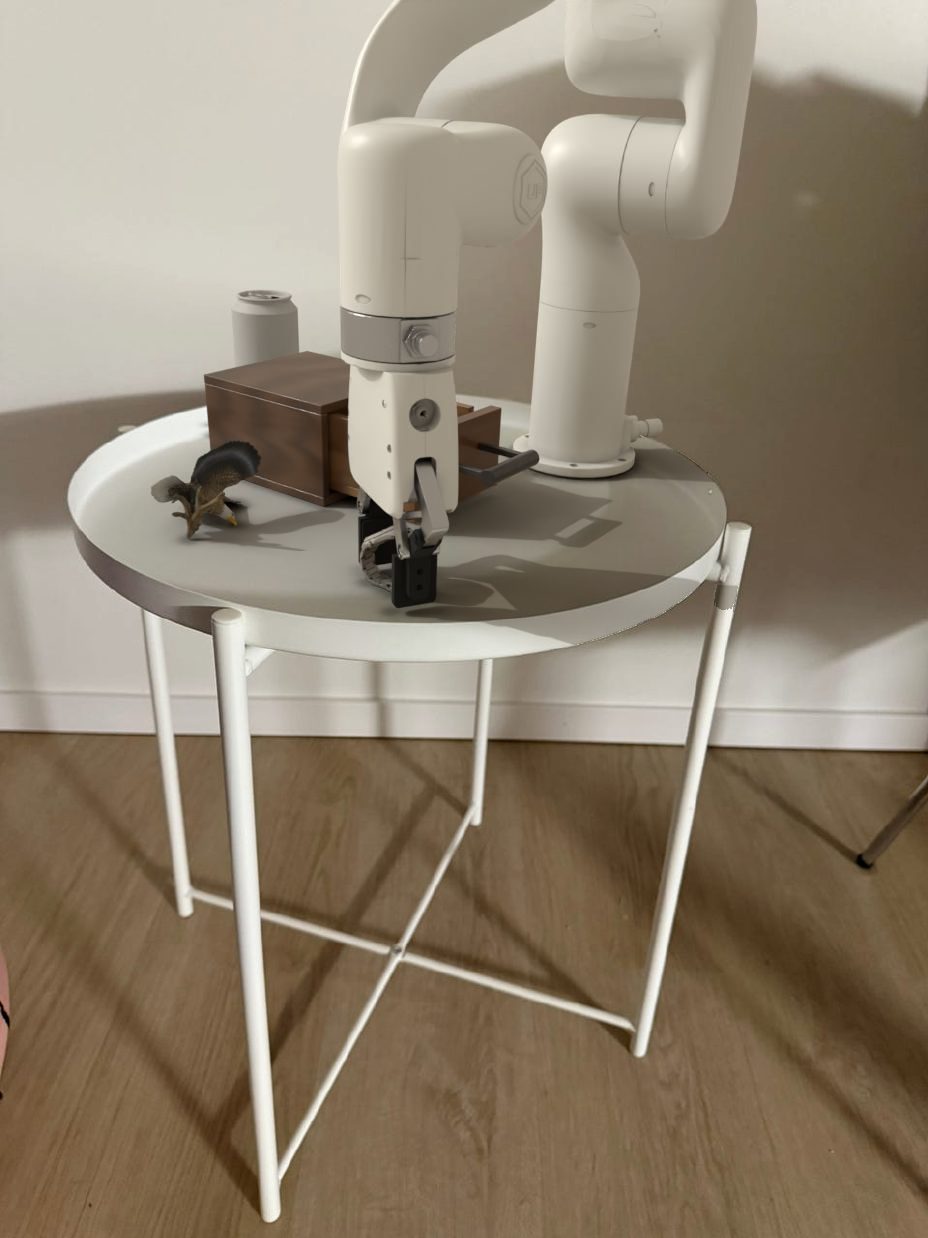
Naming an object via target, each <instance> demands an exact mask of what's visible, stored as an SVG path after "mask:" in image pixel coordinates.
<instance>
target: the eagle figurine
mask: <svg viewBox="0 0 928 1238" xmlns="http://www.w3.org/2000/svg"><path fill="white" fill-rule="evenodd" d="M260 460H261V456H260V455H258V450H257V449H255V448H254V446H253V445H250V443H249V442H244V441H239V440H238V441H235V440H234V441H229V442H225V443H224V444H222V445H221V446H218V447H217V448H215V449H213V450H210V449H209V451H208V452H206V453H204V454H202V455H200V456H199V457H198V458H197V459H196V461H195V465H194V468H193V471H192V474H191V476H190V481H189V482H185V481H183V480H181V479H180V478H179V477H177V476H176V475H171V474H170V475H169V476H166V477H163V478H161V479H159V480H158V481H156V482H154V483H153V484H152V485H151V486H150V494H151V496H152V497H153V498H154V500H155V501H156V502H158V503H161V504H162V503H163V504H164V503H169V502H171V504H174V503H176V502H177V501H179V502H180V503H181V504H182V506H183V509H184V512H180V511H173V512H172V513H171V516H172V517H173V518H181V519H184V520H186V527H187V529H186V538H187V540H191V538H192V537H193V536H194V535H195V533H196V532H197V531H198V530H200V527H201V526H202V521H203V518H204V516H205V514H210V515H213V516H218V517H220V518H222V519H223V520H226V521H228V522H230V523H231V524H233V525H234V526H235V527H236V526H237V525H238V523H237V520H236V518H235V517H236V515H235V513H234V511H232V509H230V507H229V506H227V505H226V503H235V504H242V501H240V500H235V499H231V498H228V497H227V496H226V492H225V489H227V488H230V487H234V486H235V485H238V484H239V483H240V482H242V481H246V480H245V479H248V478H250V477H252V476H254V475H255V474H256V473H257V472H258V469H257V468H258V467H259V466H260Z"/></svg>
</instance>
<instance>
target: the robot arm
mask: <svg viewBox="0 0 928 1238" xmlns="http://www.w3.org/2000/svg"><path fill="white" fill-rule="evenodd" d="M555 1H556V0H392V2H391V3H390V4H389V6H388V7H387V8H386V9H385V11H384V12H383V14H382V15H381V16H380V18H379V19H378V20H377V22H376V24H375V25H374V27H373V28H372V29H371V31H370V33H369V35H368V36H367V38H366V40H365V42H364V44H363V46H362V48H361V49H360V52H359V55H358V57H357V60H356V63H355V66H354V70H353V73H352V77H351V81H350V86H349V92H348V96H347V100H346V105H345V111H344V115H343V120H342V123H341V129H340V130H341V131H340V136H339V141H338V149H337V159H336V162H337V163H336V179H337V180H336V181H337V195H338V203H337V205H338V253H339V254H338V255H339V256H338V260H339V261H338V262H339V304H340V307H339V316H340V317H339V318H340V321H339V322H340V323H339V324H340V359H342V360H343V361H345V362H346V363H348V364H350V380H349V403H348V451H349V464H350V470H351V473H352V476H353V478H354V479H355V481H356V483H357V485H358V486H359V493H358V498H357V500H356V509H357V513H358V514H359V516H357V536H358V537H357V538H358V540H357V542H358V545H357V546H358V548H357V549H358V550H357V551H358V553H357V554H358V557H357V558H358V563H359V564H360V554H361V551H362V544H363V543H364V540H365V538H366V537H368V536H370V535H372V534H374V533H377V532H379V531H381V530H383V529H385V528H387V527H390V526H392V525H394V531H395V538H396V539H390V540H388V541H386V542H384V543H382V544H379V546H378V548H377V549H376V551H375V552H374V553H375V564H376V566H377V567H378V566H383V565H389V564H391V578H392V592H391V604H392V605H393V606H394V607H395V608H396V609H403V608H408V607H414V606H421V605H426V604H432V603H434V602H435V601H436V599H437V585H438V584H437V583H438V581H437V580H438V555H440V554H441V544H442V542H443V539H444V536H445V535H446V534H447V532H449V529H450V521H449V517H448V514H447V513H453V512H454V511H455V510H456V509H457V507H458V504H459V503H458V420H457V404H456V402H457V395H456V394H457V393H456V385H455V379H454V371H453V368H452V367H451V366H452V365H454V364H455V362H456V351H457V350H456V349H457V325H458V324H457V323H458V322H457V321H458V320H457V319H458V296H459V273H460V272H459V270H460V247H461V246H472V247H473V246H474V247H481V248H482V247H483V248H500V247H506V246H509V245H512V244H513V243H516V242H517V241H519V240H521V239H523V237H525V236H526V235H527V234H529V232H530V231H532V229H533V227H534V226H535V225H536V224H537V222H538V220H539V219H540V217H541V233H542V238H541V239H542V244H541V245H542V248H541V250H542V251H541V270H540V271H541V272H540V273H541V274H540V286H539V299H538V312H537V313H538V314H537V325H536V337H535V349H534V365H533V375H532V376H533V377H532V391H531V401H530V415H529V429H528V433H526V434H523V435H521V436H519V437H518V438H516V439H515V440H514V441H513V445H512V450H515V451H519V452H523V453H524V452H526V451H528V450H535V451H536V452H537V453H538V454H539V462H538V464H537V465H535V466H533V467H530V468H529V469H531V470H533V471H536V472H540V473H544V474H547V475H553V476H558V477H566V478H578V479H579V478H580V479H591V478H593V479H594V478H606V477H611V476H617V475H619V474H622V473H625V472H627V471H629V470H630V469H631V468H632V467H634V464H635V461H636V460H635V459H636V452H635V450H634V448H633V447H632V446H631V443H635V442H636V441H637V440H638V439H641V438H642V437H641V436H640V435H642V436H644V437H647V438H646V439H649V438H650V439H651V438H659V437H660V436H662V434H663V431H664V426H663V425H664V424H663V421H662V420H661V419H660V418H658V417H657V418H649V419H648V418H647V419H642V420H639V418H638V416H637V415H627V414H626V409H627V402H628V401H627V400H628V393H629V384H630V377H631V369H632V362H633V361H632V360H633V355H634V354H633V352H634V346H635V345H634V344H635V338H636V337H635V336H636V329H637V321H638V313H639V306H640V299H641V279H640V274H639V271H638V268H637V265H636V263H635V261H634V257H633V256H632V254H631V252H630V250H629V249H628V247H627V245H626V242H625V241H624V239H623V236H622V235H625V236H626V235H628V236H629V235H630V236H631V235H633V236H634V235H635V236H645V237H654V238H663V239H665V238H666V239H677V240H701V239H706V238H708V237H710V236H712V235H714V234H716V232H717V231H718V230H720V229H721V227H722V226H723V224H724V223H725V220H726V219H727V217H728V214H729V211H730V208H731V205H732V202H733V197H734V192H735V186H736V181H737V176H738V169H739V164H740V155H741V148H742V141H743V136H744V128H745V123H746V115H747V109H748V108H747V107H748V101H749V95H750V87H751V82H752V75H753V66H754V62H755V53H756V43H757V35H758V5H757V0H565V10H564V11H565V13H564V29H563V31H564V32H563V56H564V57H563V58H564V67H565V72H566V75H567V79H568V80H569V81H570V83H571V84H572V86H574V87H575V88H577V89H578V90H579V91H581V92H583V93H587V94H590V95H596V96H601V97H611V98H612V97H613V98H629V99H630V98H632V99H650V100H652V99H653V100H674V101H680V102H681V104H683V109H684V112H685V113H684V114H685V118H678V117H657V116H646V115H636V114H635V115H633V114H632V115H631V114H615V113H589V114H588V113H587V114H581V115H575V116H573V117H572V116H571V117H569V118H567V119H565V120H562V121H561V122H560V123H558V124H557V125H555V126H554V127H553V128H552V129H551V131H550V132H549V133H548V135H547V136H546V137H545V138H544V141H543V144H542V147H541V150H540V148H539V146H538V145H537V144H536V142H535V141H534V140H533V139H532V138H531V136H529V135H527V134H526V133H525V132H524V131H522V130H520V129H518V128H516V127H514V126H510V125H507V124H502V123H495V122H485V121H467V120H456V119H455V120H454V119H445V118H443V119H441V118H428V117H416V113H417V112H418V108H419V106H420V104H421V101H422V99H423V97H424V95H425V94H426V92H427V90H428V89H429V88H430V86H431V84H432V83H433V81H434V80H435V79H436V78H437V77H438V76H439V74H440V73H441V71H443V70H444V69H445V68H446V67H447V66H448V65H449V64H451V62H452V61H453V60H455V59H456V58H457V57H459V56H460V55H462V54H463V53H464V52H466V51H467V50H469V49H471V48H473V47H474V46H476V45H477V44H479V43H481V42H483V41H485V40H486V39H489V38H491V37H493V36H494V35H497V34H498V33H500V32H502V31H504V30H506V29H509V28H510V27H512V26H514V25H515V24H518V23H519V22H521V21H523V20H525V19H527V18H529V17H531V16H533V15H534V14H536V13H538V12H540V11H541V10H544V9H545V8H547V7H548V6H550V5H551V4H553V2H555ZM642 439H643V438H642ZM410 502H418V503H419V507H420V510H413V511H405V510H404V503H410ZM421 518H422V520H421V521H420V522H421V523H420V524H419V526H420V527H419V528H414V529H413V532H412V534H411V535H410V536H409V538H408V531H407V525H408V524H407V523H408V522H407V521H406V520H413V519H421Z"/></svg>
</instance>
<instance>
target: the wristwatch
mask: <svg viewBox="0 0 928 1238" xmlns="http://www.w3.org/2000/svg"><path fill="white" fill-rule="evenodd" d="M407 531H408V538H409V536H410V535H411V534H412V532H413V531H414V529H412V527H410V526H409V525H408V524H407ZM390 539H396V538H395V531H394V525H392V526H390V527H387V528H385V529H383V530H381V531H379V532H377V533H374V534H372V535H370V536H368V537H366V538H365V540H364V543H363V544H362V551H361V554H360V563H359V565H360V568H361V570H362V574H363V576H364V578H365V579H366V581H367V582H368V583H369V584H370V585H372V586H376V587H378V588H381V589H383V590H385V591H388V592H390V593H392V577H390V576H388V575H386V574H385V573H384V572H382V571H381V570H380V569H379V567H378V565H377V566H376V564H375V553H374V552H375V551H376V549H377V548H378V546H379V544H382V543H384V542H386V541H388V540H390Z"/></svg>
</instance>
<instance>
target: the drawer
mask: <svg viewBox="0 0 928 1238" xmlns="http://www.w3.org/2000/svg"><path fill="white" fill-rule="evenodd" d="M456 404H457V420H458V504H459V503H461V502H463V501H466V500H468V499H470V498H472V497H474V496H476V495H478V494H480V493H482V492H484V491H486V490H489V489H491V488H493V487H495V486H497V485H498V484H499V483H500V482H503V481H505V480H507V479H509V478H511V477H513V476H515V475H517V474H520V473H522V472H524V471H526V470H529V469H531V468H530V467H533V466H535V465H537V464H538V462H539V454H538V453H537V452H536V451H535V450H528V451H526V452H524V453H523V452H519V451H515V450H513V449H512V448H507V447H504V446H500V441H501V439H500V438H501V425H502V424H501V422H502V410H503V408H502V407H501V406H500V407H499V406H496V405H491V404H490V405H488V406H485V407H482V408H480V409H477V410H475V406H474V405H471V404H467V403H462V402H459V401H456ZM327 422H328V462H329V489H332V490H335V491H338V492H342V493H345V494H348V495H351V496H350V497H354V498H357V499H358V493H359V486H358V485H357V483H356V481H355V479H354V478H353V476H352V473H351V470H350V464H349V451H348V407H345V408H342V409H339V410H335V411H332V412H329V413H327ZM500 456H501V457H505V458H507V459H506V460H504V461H503V460H502V461H501V462H499V457H500ZM404 510H405V511H413V510H420V507H419V503H418V502H410V503H404ZM406 522H409V523H411V524H416V523H419V522H422V518H421V519H413V520H406Z"/></svg>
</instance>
